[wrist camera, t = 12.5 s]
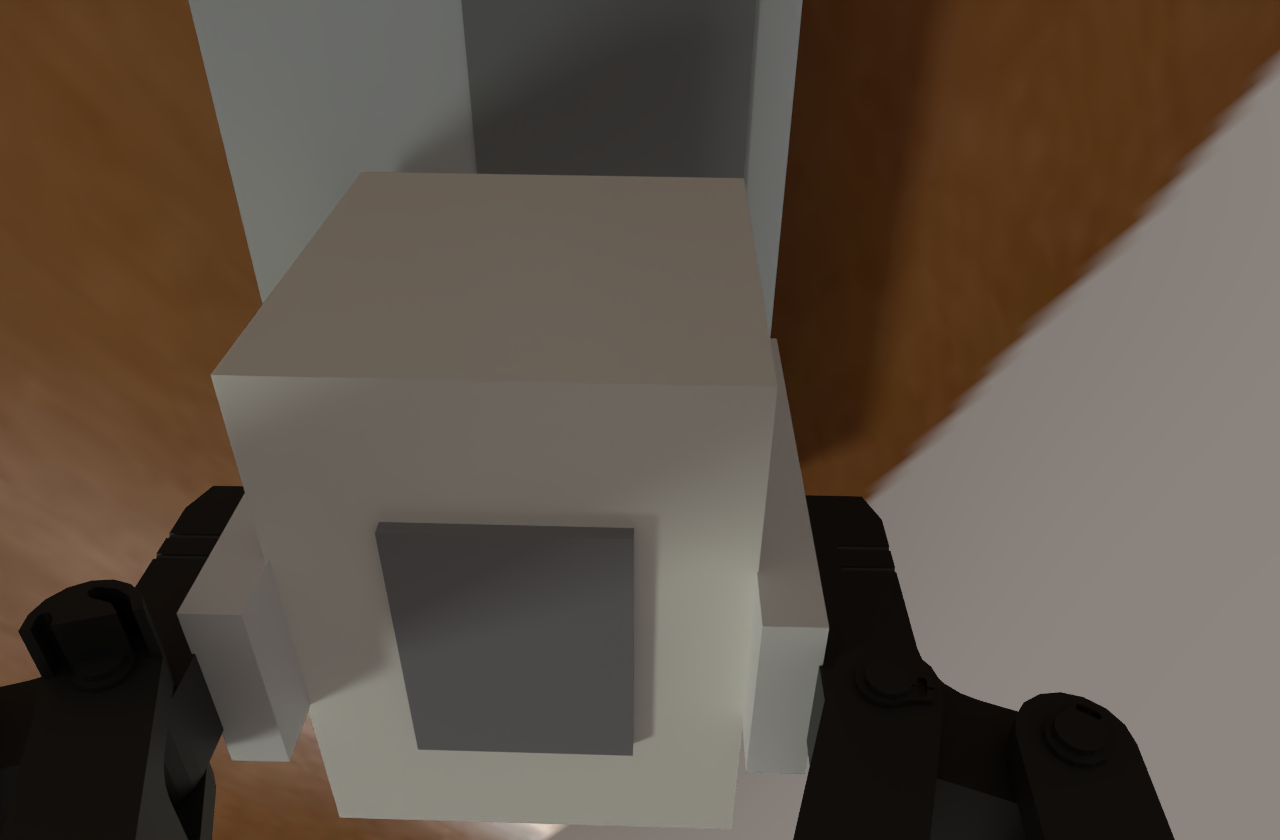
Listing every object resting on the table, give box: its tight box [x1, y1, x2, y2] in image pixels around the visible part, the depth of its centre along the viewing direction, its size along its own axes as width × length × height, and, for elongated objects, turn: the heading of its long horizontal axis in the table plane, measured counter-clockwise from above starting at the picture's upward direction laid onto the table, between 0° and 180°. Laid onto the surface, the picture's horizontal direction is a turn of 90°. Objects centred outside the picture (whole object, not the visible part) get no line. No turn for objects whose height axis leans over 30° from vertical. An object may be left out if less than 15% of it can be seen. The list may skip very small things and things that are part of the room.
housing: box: [189, 0, 803, 336], centre depth 32 cm, size 16×20×4 cm
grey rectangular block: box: [211, 172, 778, 829], centre depth 15 cm, size 6×8×6 cm
